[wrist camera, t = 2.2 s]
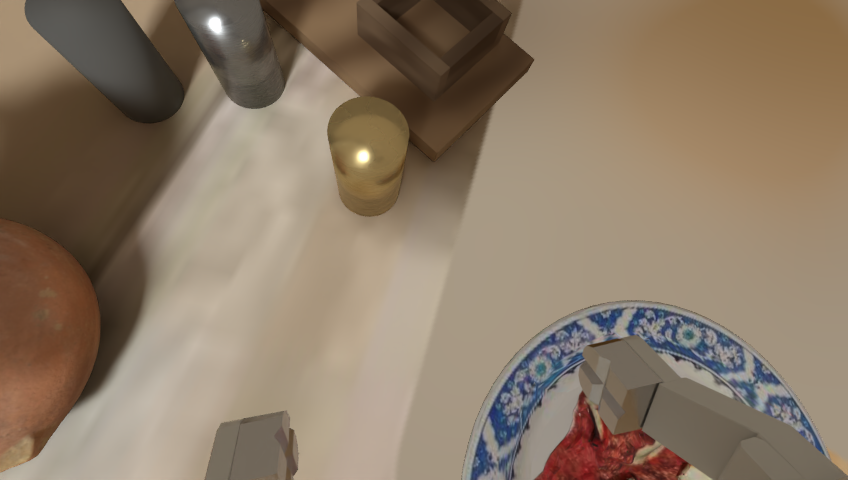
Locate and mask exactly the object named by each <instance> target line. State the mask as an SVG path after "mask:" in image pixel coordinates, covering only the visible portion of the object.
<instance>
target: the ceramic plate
mask: <svg viewBox="0 0 848 480" xmlns="http://www.w3.org/2000/svg"><path fill="white" fill-rule="evenodd" d="M633 335H637V336H639V337H641V338H642V339H643V340H644V341H645V342H646V343H647V344H648V345H649V346H650V347H651V348H652V349H653V350H654V351H655V352H656V353H657V354H658V355H659V356H660V357H661V358H662V359H663V360H664V361H665V362H666V363H667V364H668V365H669V366H670V367H671V368H672V369H673V370H674V371H675V372H676V373H677V374H678V375H679V376H680V377H681V378H685V377H687V378H689V379H691V380H693V381H695V382H697V383H700V384H702V385H704V386H706V387H708V388H710V389H713V390H715V391H717V392H719V393H721V394H723V395H726V396H728V397H730V398H732V399H734V400H736V401H739V402H741V403H743V404H745V405H747V406H749V407H752V408H754V409H756V410H758V411H760V412H762V413H765V414H767V415H769V416H771V417H773V418H775V419H777V420H780V421H782V422H784V423H786V424H788V425H790V426H792V427H793V428H794V429H795V430H796V431H797V432H799V433H800V434H801V435H802V436H803V437H804V438H805V439H806V440H808V441H809V442H810V443H811V444H812V445H813V446H814V447H816V448H817V449H818V450H819V451H820V452H821V453H822V454H823V455H825V456H826V457H827V458H828V459H829V460H830V461H831V459H830V456H829V454H828V451H827V448H826V446H825V443H824V441H823V439H822V437H821V436H820V434H819V432H818V430H817V428H816V426H815V425H814V423H813V421H812V419H811V418H810V416H809V414H808V412H807V411H806V409H805V408H804V406H803V405H802V403H801V402H800V400H799V398H798V397H797V395H796V394H795V392H794V391H793V389H792V388H791V387H790V386H789V385H788V383H787V382H786V381H785V380H784V379H783V378H782V376H781V375H780V374H779V373H778V372H777V371H776V370H775V369H774V368H773V366H772V365H771V364H770V363H769V362H768V361H767V360H766V359H765V358H764V357H763V356H762V355H760V354H759V353H758V352H757V351H756V350H755V349H754V348H753V347H752V346H751V345H749V344H748V343H747V342H745V341H744V340H743V339H741V338H740V337H739V336H737V335H736V334H734V333H732V332H731V331H729V330H728V329H726V328H725V327H723V326H721V325H720V324H718V323H716V322H714V321H712V320H710V319H708V318H706V317H704V316H701V315H699V314H697V313H695V312H692V311H689V310H686V309H683V308H680V307H677V306H673V305H668V304H663V303H659V302H650V301H617V302H608V303H603V304H599V305H594V306H590V307H588V308H585V309H582V310H579V311H576V312H574V313H572V314H570V315H568V316H565V317H563V318H561V319H559V320H558V321H556V322H555V323H553V324H551V325H549V326H548V327H546V328H545V329H543V330H542V331H541V332H540V333H538V334H537V335H536V336H535V337H533V338H532V339H530V341H528V342H527V343H526V344H525V345H524V346H523V347H522V348H521V349H520V350H519V351H518V352H517V353H516V354H515V356H514V357H513V358H512V359H511V360H510V362H509V363H508V364H507V365H506V366H505V368H504V369H503V370H502V372H501V373H500V375H499V376H498V378H497V379H496V381H495V382H494V384H493V386H492V387H491V389H490V391H489V393H488V395H487V396H486V399H485V400H484V402H483V405H482V407H481V409H480V411H479V414H478V416H477V418H476V421H475V424H474V427H473V430H472V433H471V436H470V440H469V442H468V447H467V451H466V455H465V460H464V464H463V471H462V478H461V480H713V479H711V478H710V477H708V476H707V475H705V474H704V473H702V472H701V471H700V470H698V469H697V468H695V467H694V466H692V465H691V464H689V463H688V462H687V461H685V460H684V459H682V458H681V457H679V456H678V455H676V454H675V453H674V452H672V451H671V450H669V449H668V448H666V447H665V446H663V445H662V444H661V443H659V442H658V441H656V440H655V439H653V438H652V437H650V436H649V435H648V434H646V433H645V432H643V431H642V429H638V430H634V431H629V432H625V433H620V434H616V435H613V434H612V433H611V431H610V430H609V429H608V427H607V426H606V424H605V423H604V421H603V420H602V418H601V417H600V416H599V414H598V407H599V406H598V405H597V404H595V403H593V402H592V401H590V400H589V399H588V398H587V396H586V395H585V393H584V392H583V390H582V387H581V385H580V381H579V376H578V374H579V368H580V366H581V364H582V363H583V362H584V361H585V358H584V357H583V356H582V354H583V349H584V348H585V347H586V346H587V345H591V344H595V343H599V342H604V341H608V340H612V339H619V338H623V337H628V336H633ZM831 462H832V461H831Z"/></svg>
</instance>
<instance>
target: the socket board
mask: <svg viewBox="0 0 848 480" xmlns="http://www.w3.org/2000/svg"><path fill="white" fill-rule="evenodd" d="M259 1H260V4H261V7H262V9H263V10H265V11H266V12H267V13H268V14H269V15H270V16H271V17H272V18H273V19H275V20H276V21H277V22H278V23H279V24H280V25H281V26H282V27H284V28H285V29H286V30H287V31H288V32H289V33H290V34H291V35H292V36H294V37H295V38H296V39H297V40H298V41H299V42H300V43H301V44H303V45H304V46H305V47H306V48H307V49H308V50H309V51H310V52H311V53H313V54H314V55H315V56H316V57H317V58H318V59H319V60H320V61H322V62H323V63H324V64H325V65H326V66H327V67H328V68H329V69H330V70H332V71H333V72H334V73H335V74H336V75H337V76H338V77H339V78H340V79H342V80H343V81H344V82H345V83H346V84H347V85H348V86H349V87H351V88H352V89H353V90H354V91H355V92H356V93H357V94H358V95H359V96H361V97H376V98H380V99H383V100H385V101H388V102H389V103H391V104H393V105H394V106H395V107H396V108H398V109H399V110H400V112H401V113H402V114H403V116H404V117H405V119H406V121H407V124H408V127H409V140H410V141H411V142H412V143H413V144H414V145H415V146H416V147H418V148H419V149H420V150H421V151H422V152H423V153H424V154H425V155H427V156H428V157H429V158H430V159H431V160H432V161H433V162H435V161H436V160H437V159H438V158H439V157H440V156H441V155H442V154H443V153H444V152H445V151H446V150H447V149H448V148H449V147H450V146H451V145H452V144H453V143H454V142H455V141H456V140H457V139H459V138H460V137H461V136H462V135H463V134H464V133H465V132H466V131H467V130H468V129H469V128H470V127H471V126H472V125H473V124H474V123H475V122H476V121H477V120H478V119H479V118H480V117H481V116H482V115H483V114H484V113H485V112H486V111H487V110H488V109H489V108H490V107H491V106H493V105H494V104H495V103H496V101H498V100H499V99H500V98H501V97H502V96H503V95H504V94H505V93H506V92H507V91H508V90H509V89H510V88H511V87H512V86H513V85H514V84H515V83H516V82H517V81H518V80H519V79H520V78H521V77H522V76H523V75H524V74H525V73H526V72H527V71H528V70H529V68H530V66H531V64H532V63H533V61H534V59H533V58H532V57H531V56H530V55H529V54H527V53H526V52H525V51H524V50H523V49H521V48H520V47H519V46H518V45H517V44H515V43H514V42H513V41H512V40H511V39H510V38H508V37H507V36H506V35H505V34H504V30H505V28H506V26H507V23H508V21H509V19H510V16H511V14H512V13H511V12H510V11H509V10H507V9H506V8H505V7H504V6H503V5H501V4H500V3H499V2H498V1H497V0H259Z"/></svg>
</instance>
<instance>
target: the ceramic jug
mask: <svg viewBox="0 0 848 480" xmlns="http://www.w3.org/2000/svg"><path fill="white" fill-rule="evenodd" d="M100 326H101V320H100V310H99V305H98V300H97V297H96V293H95V290H94V288H93V286H92V283H91V281H90V279H89V277H88V275H87V273H86V272H85V270H84V269H83V268H82V266H81V265H80V264H79V263H78V261H77V260H76V259H75V258H74V257H73V256H72V255H71V254H70V253H69V252H68V251H67V250H66V249H65V248H64V247H62V246H61V245H60V244H58V243H57V242H56V241H54V240H53V239H51V238H50V237H48V236H46V235H45V234H43V233H41V232H39V231H37V230H35V229H33V228H31V227H28V226H26V225H23V224H20V223H17V222H14V221H11V220H7V219H2V218H0V472H3V471H5V470H7V469H9V468H12V467H15V466H18V465H20V464H22V463H25V462H27V461H29V460H31V459H33V458H34V457H36V456H37V455H38V454H39V453H40V452H41V450H42V449H43V448H44V446H45V445H46V443H47V441H48V440H49V438H50V437H51V436H52V434H53V433H54V432H55V431H56V429H57V428H58V426H59V425H60V423H61V422H62V421H63V419H64V418H65V417H66V415H67V414H68V413H69V411H70V410H71V409H72V407H73V406H74V404H75V403H76V401H77V400H78V398H79V396H80V395H81V393H82V391H83V389H84V387H85V385H86V383H87V381H88V379H89V377H90V374H91V372H92V369H93V366H94V363H95V360H96V357H97V353H98V347H99V342H100Z"/></svg>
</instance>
